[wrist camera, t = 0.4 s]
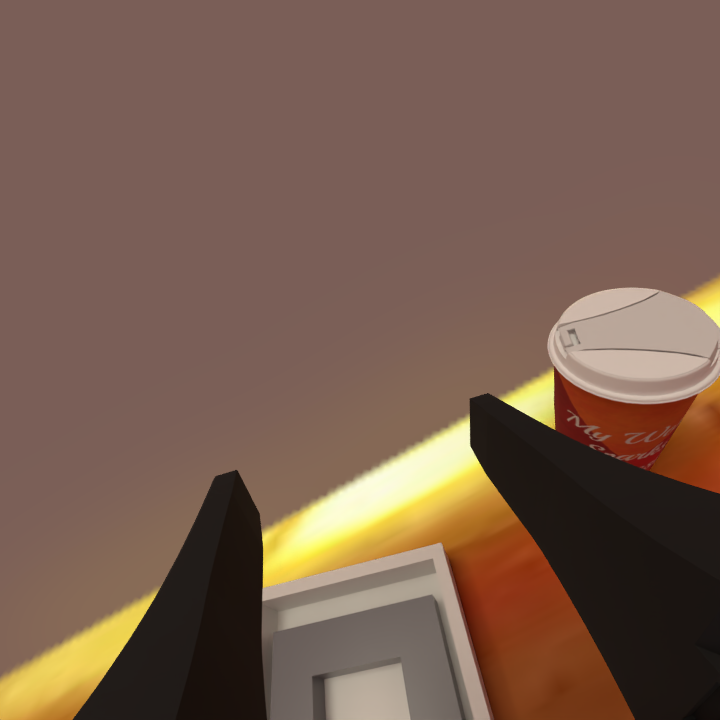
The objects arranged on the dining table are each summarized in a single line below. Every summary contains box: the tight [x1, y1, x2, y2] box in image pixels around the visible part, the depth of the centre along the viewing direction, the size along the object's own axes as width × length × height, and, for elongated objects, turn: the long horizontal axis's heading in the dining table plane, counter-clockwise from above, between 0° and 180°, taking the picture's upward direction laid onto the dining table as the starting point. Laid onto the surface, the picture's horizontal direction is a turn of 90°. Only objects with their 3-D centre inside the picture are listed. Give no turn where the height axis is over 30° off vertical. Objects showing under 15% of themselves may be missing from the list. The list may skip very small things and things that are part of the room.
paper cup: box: [548, 288, 720, 471], centre depth 24 cm, size 8×8×14 cm
